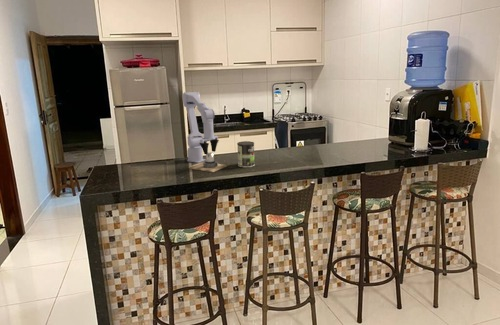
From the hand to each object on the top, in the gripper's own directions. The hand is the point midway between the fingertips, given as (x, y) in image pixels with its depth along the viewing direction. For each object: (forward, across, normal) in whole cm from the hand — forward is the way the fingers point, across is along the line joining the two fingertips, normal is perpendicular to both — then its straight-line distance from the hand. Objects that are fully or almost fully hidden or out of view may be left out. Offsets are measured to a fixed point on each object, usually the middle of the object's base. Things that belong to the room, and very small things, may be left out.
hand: (209, 152), depth 219 cm
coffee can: (+10, +15, -16) cm, 24 cm away
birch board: (+9, 0, +2) cm, 10 cm away
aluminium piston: (+8, 0, 0) cm, 8 cm away
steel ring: (+9, 0, 0) cm, 9 cm away
